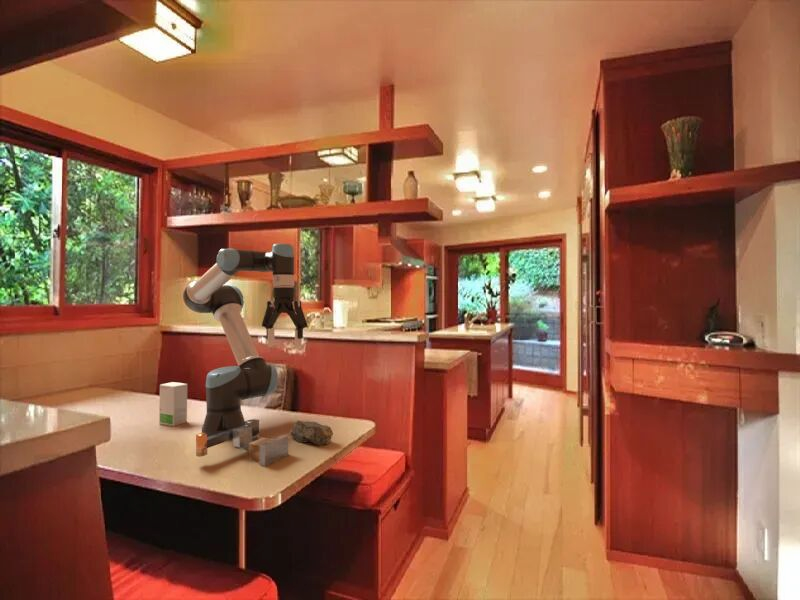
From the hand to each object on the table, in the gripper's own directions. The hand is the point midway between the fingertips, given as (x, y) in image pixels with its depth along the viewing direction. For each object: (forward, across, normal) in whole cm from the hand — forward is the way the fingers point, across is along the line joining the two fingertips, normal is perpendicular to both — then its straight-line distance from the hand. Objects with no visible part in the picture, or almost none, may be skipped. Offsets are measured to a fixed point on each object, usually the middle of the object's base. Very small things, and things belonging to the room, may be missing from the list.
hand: (284, 347), depth 156 cm
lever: (+28, -1, -23) cm, 37 cm away
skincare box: (+32, -50, -8) cm, 60 cm away
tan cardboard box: (+32, +9, -21) cm, 39 cm away
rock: (+32, +14, -2) cm, 35 cm away
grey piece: (+31, +5, -18) cm, 36 cm away
